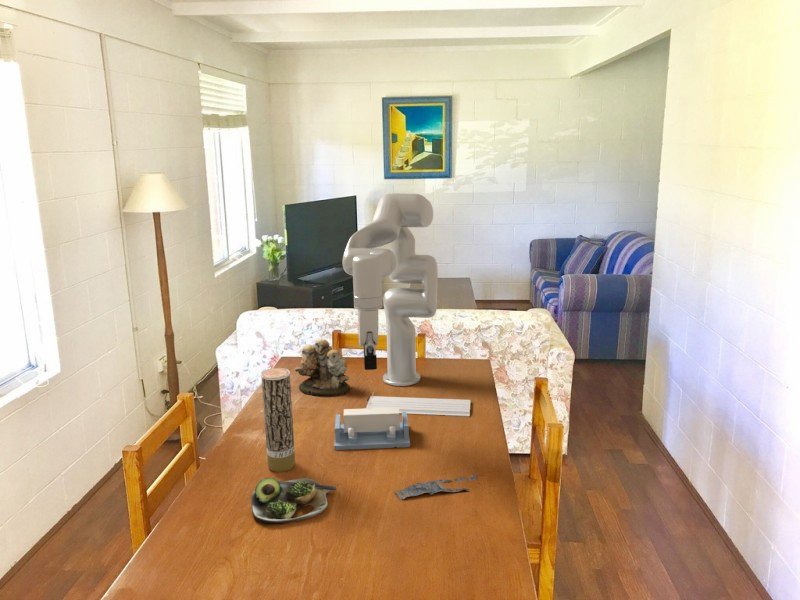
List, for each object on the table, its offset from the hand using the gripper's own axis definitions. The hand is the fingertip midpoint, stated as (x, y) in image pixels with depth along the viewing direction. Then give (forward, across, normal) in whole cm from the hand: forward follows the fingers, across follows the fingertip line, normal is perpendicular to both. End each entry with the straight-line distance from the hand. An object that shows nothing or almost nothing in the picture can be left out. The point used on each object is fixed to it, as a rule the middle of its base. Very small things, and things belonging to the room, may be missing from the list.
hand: (370, 362), depth 177 cm
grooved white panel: (+22, -15, +14) cm, 31 cm away
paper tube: (+21, +16, -23) cm, 35 cm away
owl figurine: (+22, -34, -15) cm, 43 cm away
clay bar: (+18, +2, 0) cm, 18 cm away
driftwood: (+21, +30, +14) cm, 40 cm away
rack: (+21, +3, 0) cm, 21 cm away
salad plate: (+21, +33, -20) cm, 44 cm away
